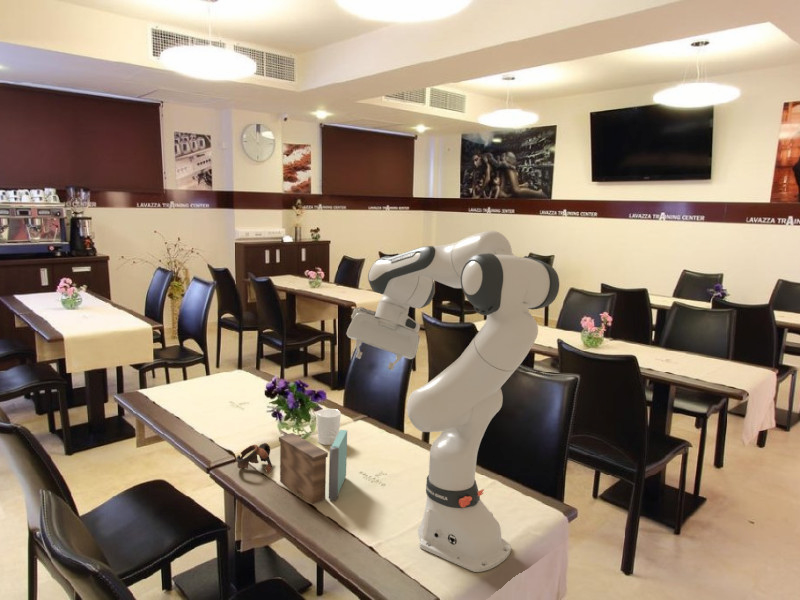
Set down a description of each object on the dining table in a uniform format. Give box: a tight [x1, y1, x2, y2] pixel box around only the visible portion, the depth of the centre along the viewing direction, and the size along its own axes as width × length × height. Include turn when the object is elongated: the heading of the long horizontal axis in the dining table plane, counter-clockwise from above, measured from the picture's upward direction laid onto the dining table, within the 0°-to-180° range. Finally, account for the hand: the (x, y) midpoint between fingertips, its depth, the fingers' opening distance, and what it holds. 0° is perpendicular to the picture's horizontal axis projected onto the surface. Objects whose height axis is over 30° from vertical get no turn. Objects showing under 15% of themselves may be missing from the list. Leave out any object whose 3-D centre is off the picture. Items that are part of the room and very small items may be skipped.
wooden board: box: [278, 432, 329, 504], centre depth 152 cm, size 17×5×13 cm, turn 44°
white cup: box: [316, 408, 342, 446], centre depth 185 cm, size 8×8×10 cm
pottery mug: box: [235, 442, 273, 475], centre depth 165 cm, size 12×10×8 cm
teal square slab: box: [328, 429, 348, 501], centre depth 153 cm, size 14×2×14 cm, turn 174°
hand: (374, 363), depth 153 cm, fingers open, 8 cm apart
